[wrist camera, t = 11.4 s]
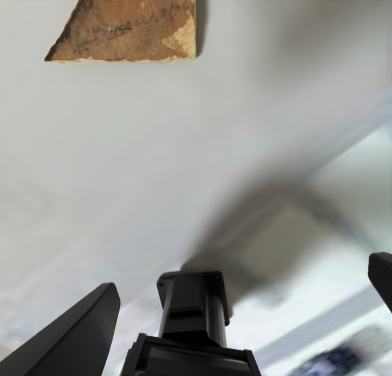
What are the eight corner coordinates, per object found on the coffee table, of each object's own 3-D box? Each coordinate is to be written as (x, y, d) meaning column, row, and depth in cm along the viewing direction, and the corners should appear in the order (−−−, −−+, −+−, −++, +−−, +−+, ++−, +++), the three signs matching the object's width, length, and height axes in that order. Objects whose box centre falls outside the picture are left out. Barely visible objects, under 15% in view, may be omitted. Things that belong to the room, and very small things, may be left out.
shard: (56, 65, 18) (40, 60, 16) (37, -61, 15) (16, -84, 14) (197, 66, 17) (196, 60, 16) (199, -64, 15) (198, -87, 13)
